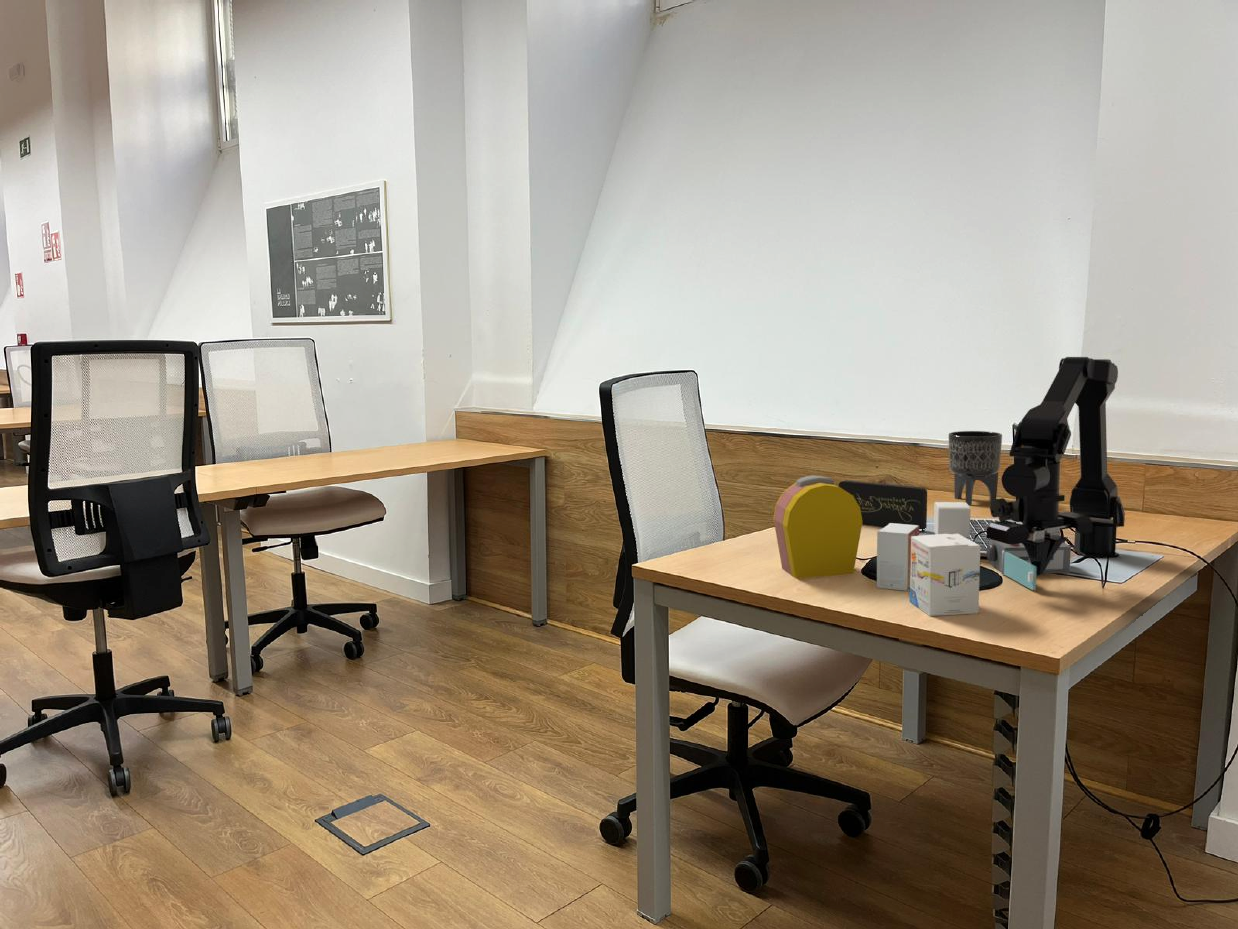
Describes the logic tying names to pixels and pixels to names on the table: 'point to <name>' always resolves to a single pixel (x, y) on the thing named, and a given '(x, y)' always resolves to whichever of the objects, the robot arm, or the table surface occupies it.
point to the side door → (1019, 570)
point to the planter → (974, 461)
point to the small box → (895, 556)
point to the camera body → (1056, 564)
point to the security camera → (952, 518)
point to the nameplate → (889, 503)
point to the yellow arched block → (817, 528)
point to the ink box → (945, 574)
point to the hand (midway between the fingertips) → (1038, 575)
